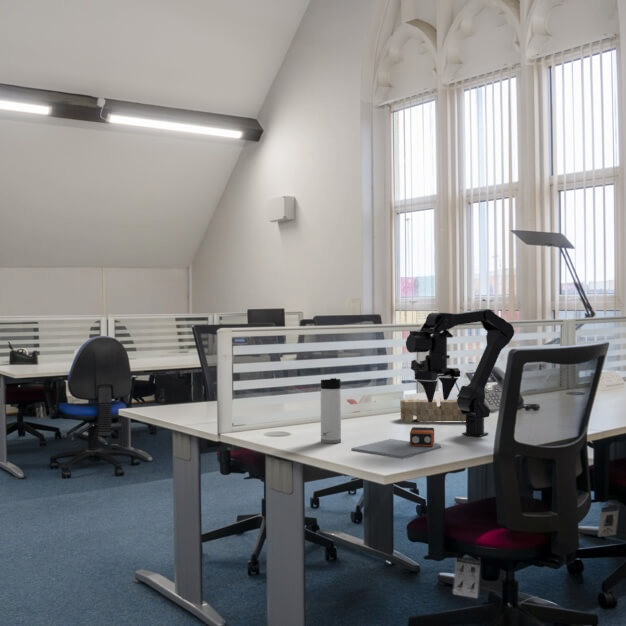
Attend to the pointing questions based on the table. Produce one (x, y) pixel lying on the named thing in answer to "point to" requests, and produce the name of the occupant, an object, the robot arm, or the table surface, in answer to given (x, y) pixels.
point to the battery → (422, 437)
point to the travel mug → (331, 411)
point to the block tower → (430, 410)
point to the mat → (394, 448)
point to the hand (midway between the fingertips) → (437, 401)
